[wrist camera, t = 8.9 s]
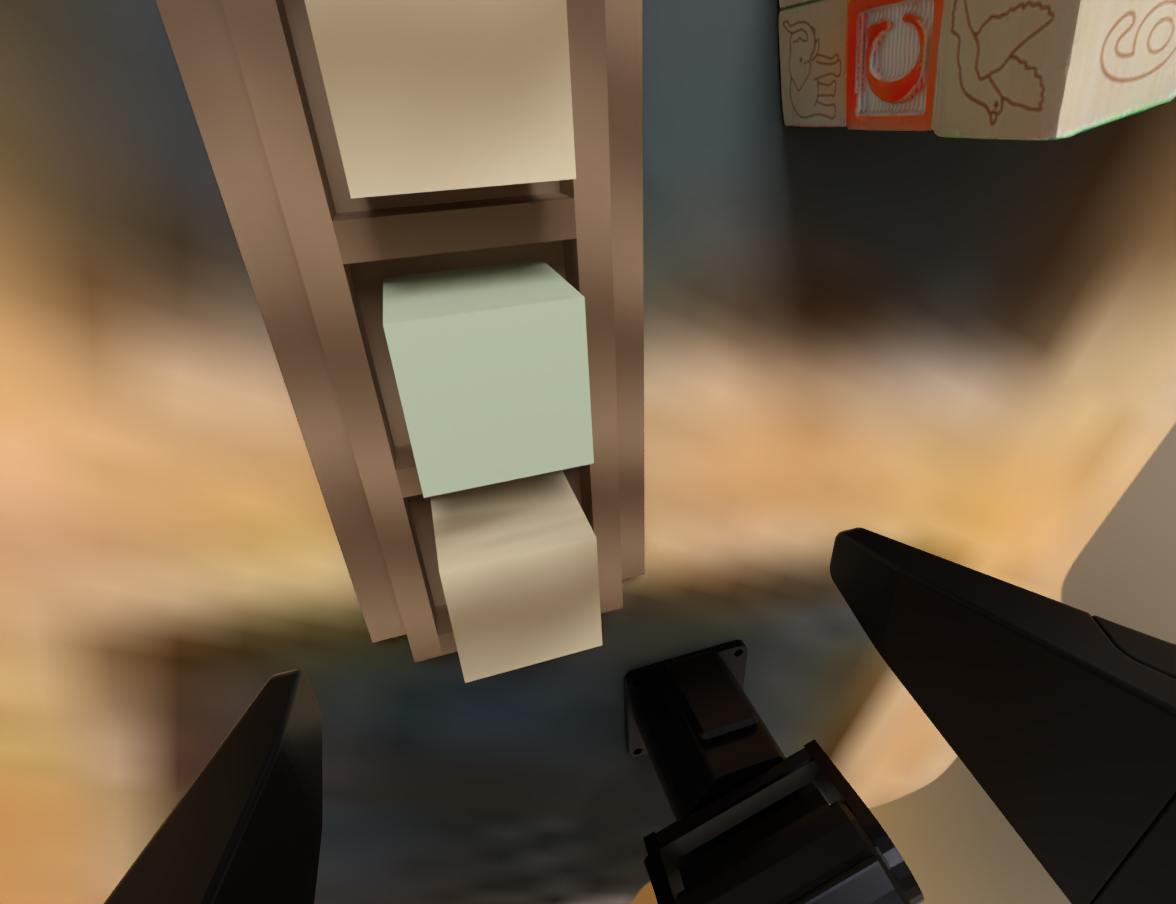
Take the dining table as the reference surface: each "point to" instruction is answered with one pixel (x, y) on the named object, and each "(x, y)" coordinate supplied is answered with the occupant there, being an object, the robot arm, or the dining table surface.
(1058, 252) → the dining table surface
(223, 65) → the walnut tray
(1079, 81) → the stack of blocks
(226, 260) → the dining table surface
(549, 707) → the dining table surface
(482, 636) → the maple block
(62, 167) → the dining table surface
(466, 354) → the sage block
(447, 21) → the maple block
